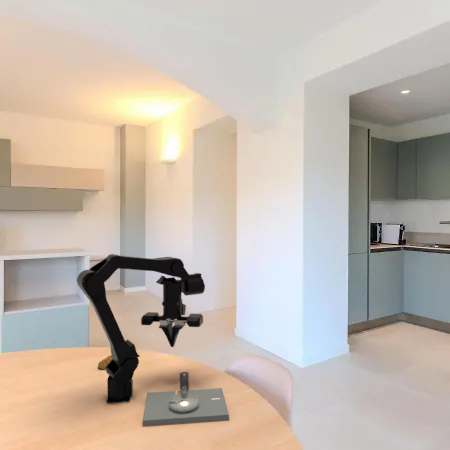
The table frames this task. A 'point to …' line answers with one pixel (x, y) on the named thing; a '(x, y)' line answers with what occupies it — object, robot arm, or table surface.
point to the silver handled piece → (184, 397)
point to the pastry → (105, 362)
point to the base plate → (206, 412)
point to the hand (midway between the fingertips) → (172, 346)
